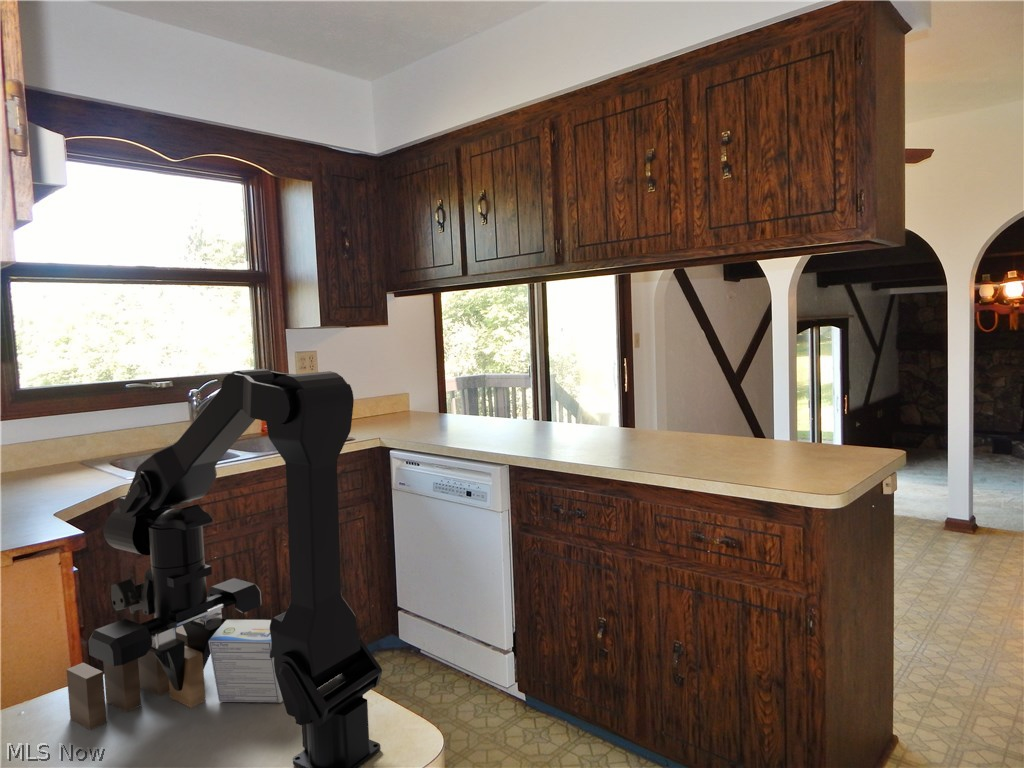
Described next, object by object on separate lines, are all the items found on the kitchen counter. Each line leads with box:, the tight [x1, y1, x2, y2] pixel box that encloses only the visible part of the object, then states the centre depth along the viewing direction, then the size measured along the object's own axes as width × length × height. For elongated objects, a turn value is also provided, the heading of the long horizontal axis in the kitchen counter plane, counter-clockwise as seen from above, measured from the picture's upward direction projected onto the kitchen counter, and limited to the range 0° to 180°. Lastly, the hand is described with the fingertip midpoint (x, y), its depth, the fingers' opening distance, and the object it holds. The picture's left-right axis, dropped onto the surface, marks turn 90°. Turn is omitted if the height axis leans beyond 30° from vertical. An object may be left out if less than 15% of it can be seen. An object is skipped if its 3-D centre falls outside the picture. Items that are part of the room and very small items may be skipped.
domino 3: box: [138, 651, 170, 697], centre depth 84 cm, size 2×4×6 cm, turn 58°
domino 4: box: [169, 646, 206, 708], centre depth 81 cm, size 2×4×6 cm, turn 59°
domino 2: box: [102, 659, 142, 713], centre depth 80 cm, size 2×4×6 cm, turn 58°
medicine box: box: [208, 619, 284, 704], centre depth 81 cm, size 8×4×9 cm, turn 85°
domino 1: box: [66, 662, 107, 731], centre depth 77 cm, size 2×4×6 cm, turn 58°
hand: (186, 685), depth 81 cm, fingers closed on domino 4, 2 cm apart
